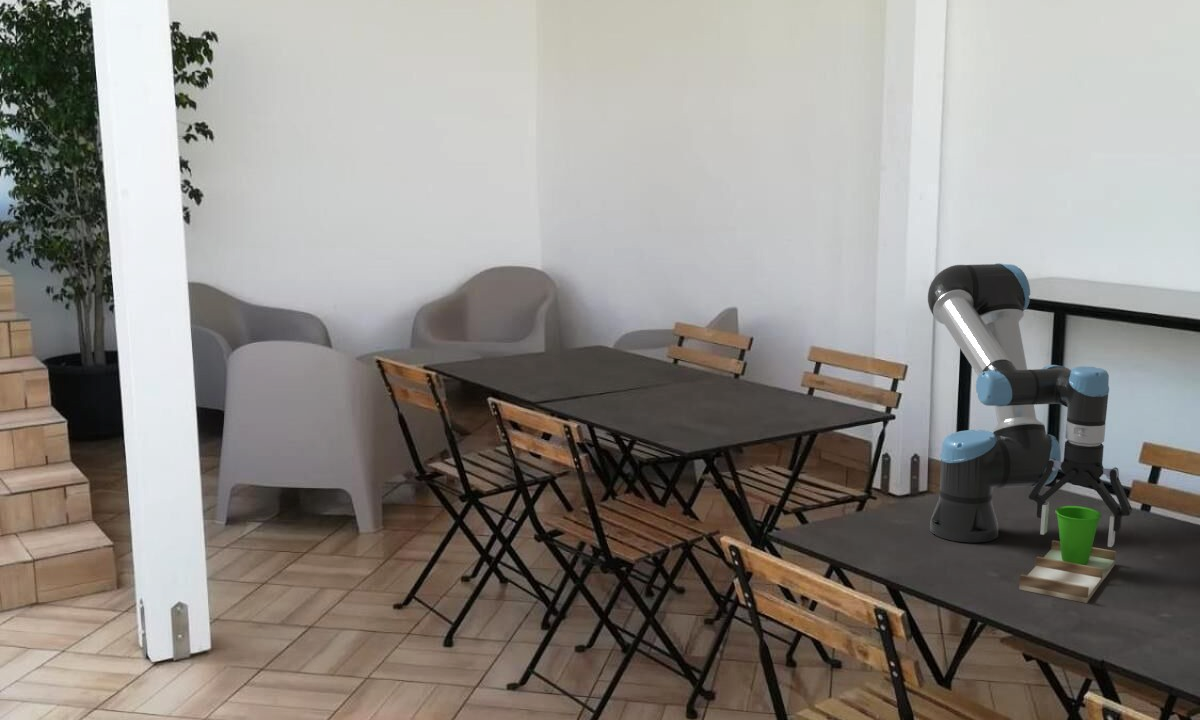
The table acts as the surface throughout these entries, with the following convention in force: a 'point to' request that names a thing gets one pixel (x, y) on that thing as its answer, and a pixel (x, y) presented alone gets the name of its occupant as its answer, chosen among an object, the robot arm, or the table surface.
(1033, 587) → the wooden divided tray
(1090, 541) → the cup
